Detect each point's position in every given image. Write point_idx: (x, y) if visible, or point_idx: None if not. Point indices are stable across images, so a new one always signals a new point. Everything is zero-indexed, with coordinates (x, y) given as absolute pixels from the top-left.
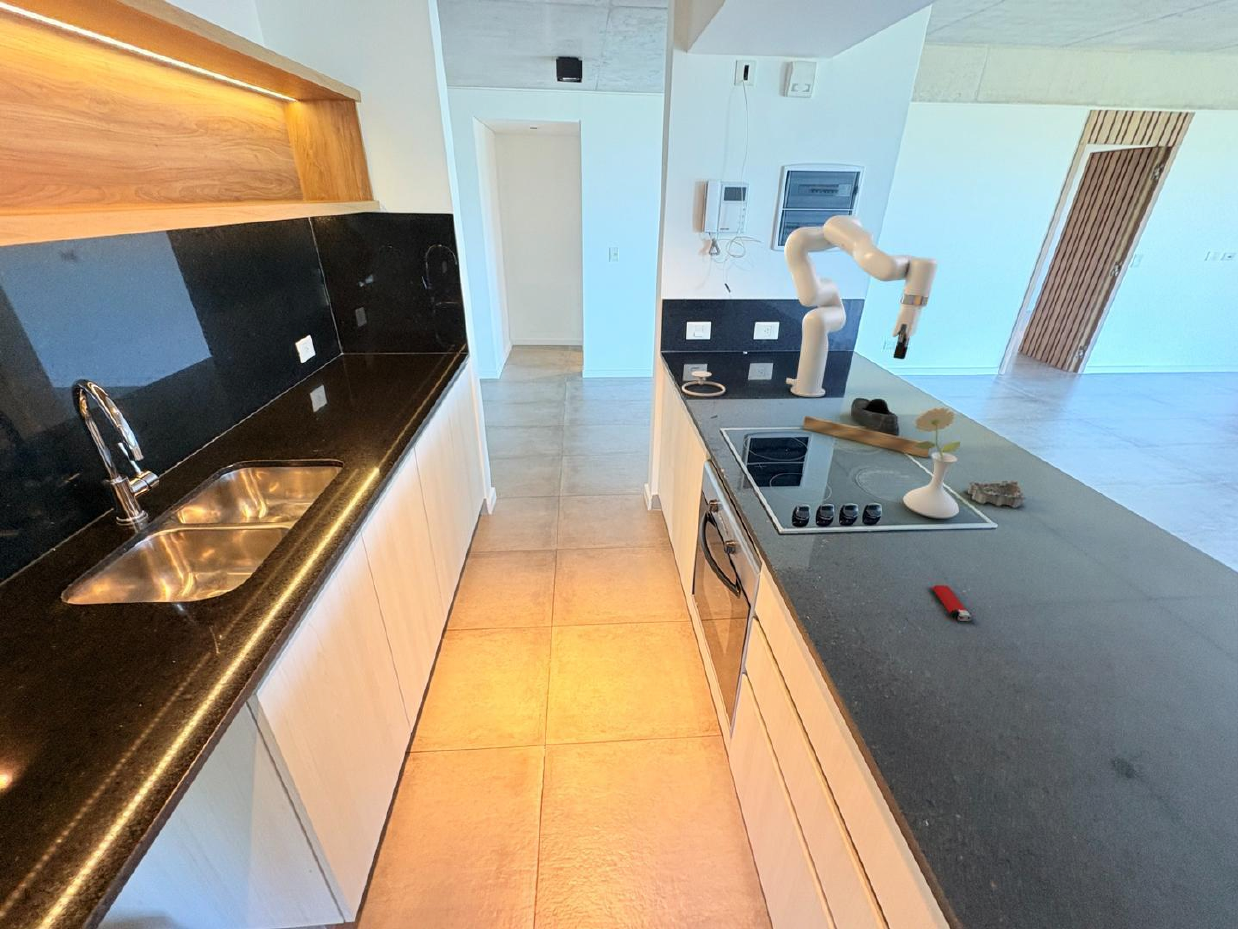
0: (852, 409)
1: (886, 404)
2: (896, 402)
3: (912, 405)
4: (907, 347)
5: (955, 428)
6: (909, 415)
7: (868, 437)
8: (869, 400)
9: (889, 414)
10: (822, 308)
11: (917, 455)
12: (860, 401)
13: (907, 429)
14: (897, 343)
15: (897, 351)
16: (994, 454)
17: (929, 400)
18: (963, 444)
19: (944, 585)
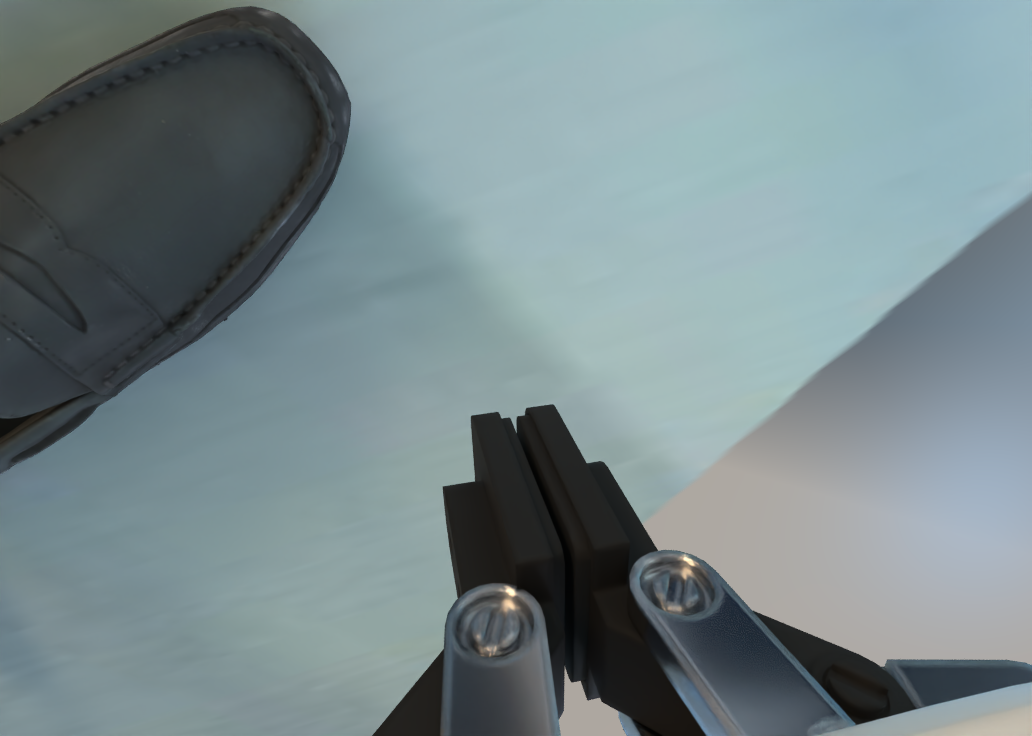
0: (89, 69)
1: (3, 414)
2: (733, 208)
3: (722, 299)
4: (591, 682)
5: None
6: (528, 349)
7: None
8: (321, 149)
9: (17, 427)
10: None
11: None
12: (220, 91)
13: (271, 425)
14: (447, 670)
15: (452, 541)
16: (267, 728)
17: (855, 334)
18: (282, 640)
19: None
